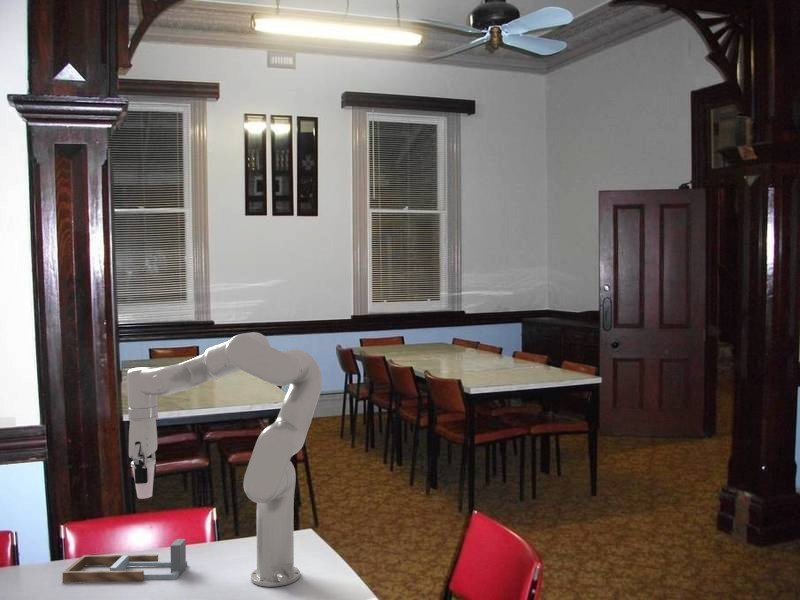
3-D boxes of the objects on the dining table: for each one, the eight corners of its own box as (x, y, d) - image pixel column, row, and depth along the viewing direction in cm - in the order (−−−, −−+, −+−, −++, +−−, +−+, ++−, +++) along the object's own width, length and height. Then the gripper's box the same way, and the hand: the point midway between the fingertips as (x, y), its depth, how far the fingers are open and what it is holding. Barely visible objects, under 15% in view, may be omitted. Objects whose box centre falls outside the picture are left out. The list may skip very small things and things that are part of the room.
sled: (188, 565, 197) (187, 536, 197) (177, 578, 188) (177, 548, 188) (123, 566, 197) (122, 536, 197) (109, 579, 188) (109, 549, 188)
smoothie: (153, 499, 192) (150, 447, 191) (128, 500, 192) (126, 448, 191) (160, 492, 198) (158, 442, 198) (137, 493, 198) (134, 443, 198)
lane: (158, 563, 199) (158, 554, 199) (142, 581, 187) (142, 571, 186) (83, 564, 199) (83, 555, 199) (62, 582, 186) (62, 572, 186)
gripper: (139, 409, 203) (142, 472, 203) (117, 419, 186) (120, 489, 186) (166, 408, 203) (169, 471, 204) (146, 418, 186) (149, 487, 186)
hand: (145, 479), depth 195 cm, fingers closed on smoothie, 6 cm apart
